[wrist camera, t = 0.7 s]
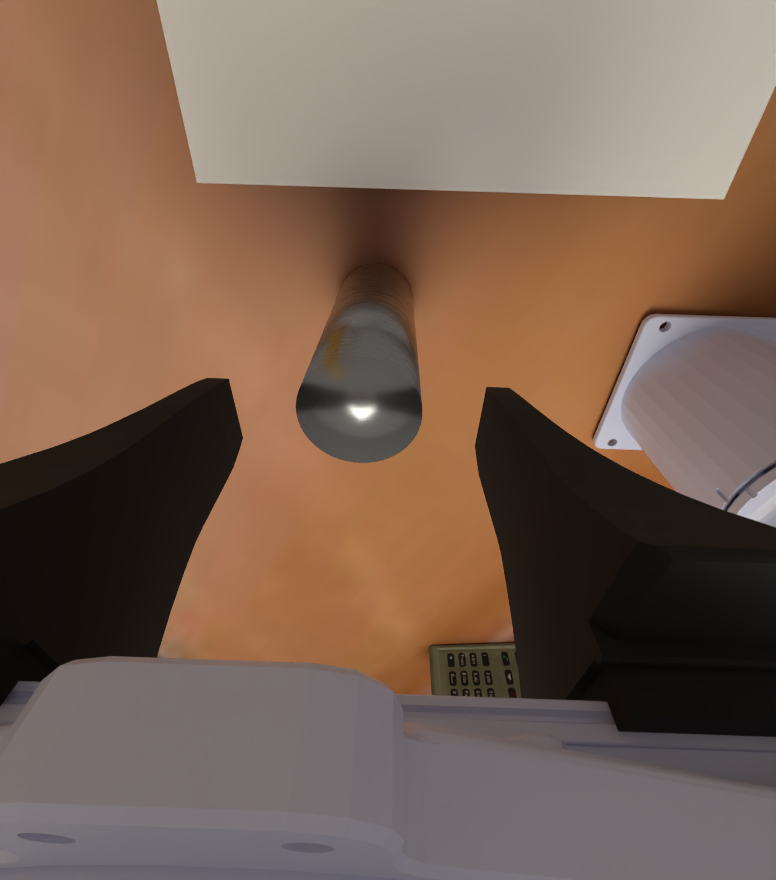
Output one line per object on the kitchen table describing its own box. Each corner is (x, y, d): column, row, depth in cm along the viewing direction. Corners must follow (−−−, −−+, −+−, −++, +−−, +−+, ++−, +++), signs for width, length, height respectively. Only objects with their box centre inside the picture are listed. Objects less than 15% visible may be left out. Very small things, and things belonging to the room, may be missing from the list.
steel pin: (415, 264, 18) (427, 358, 10) (410, 339, 20) (417, 464, 12) (337, 262, 18) (288, 353, 10) (340, 336, 20) (302, 460, 12)
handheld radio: (428, 640, 39) (695, 630, 37) (429, 654, 41) (683, 646, 39) (432, 719, 34) (744, 714, 32) (434, 731, 36) (727, 727, 34)
